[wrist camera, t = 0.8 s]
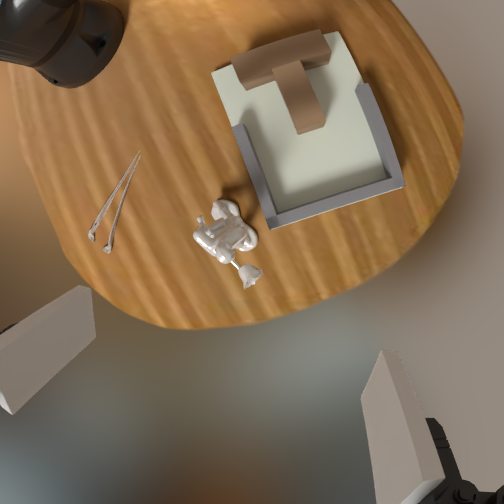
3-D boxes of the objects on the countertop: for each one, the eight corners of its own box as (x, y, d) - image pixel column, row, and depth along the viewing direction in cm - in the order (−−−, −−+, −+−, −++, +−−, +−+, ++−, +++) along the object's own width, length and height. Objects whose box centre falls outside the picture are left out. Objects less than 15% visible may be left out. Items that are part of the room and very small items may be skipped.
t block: (237, 69, 30) (229, 58, 26) (318, 43, 28) (319, 28, 24) (268, 145, 32) (263, 141, 28) (352, 118, 30) (358, 111, 26)
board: (213, 75, 32) (204, 66, 28) (337, 34, 28) (340, 22, 25) (271, 228, 35) (268, 234, 32) (399, 187, 31) (409, 188, 28)
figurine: (226, 188, 35) (190, 196, 23) (285, 241, 35) (276, 274, 24) (201, 218, 36) (157, 239, 25) (258, 269, 37) (237, 312, 25)
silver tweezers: (112, 254, 40) (105, 257, 38) (90, 236, 40) (82, 238, 38) (168, 144, 36) (162, 141, 34) (142, 129, 36) (135, 126, 34)
